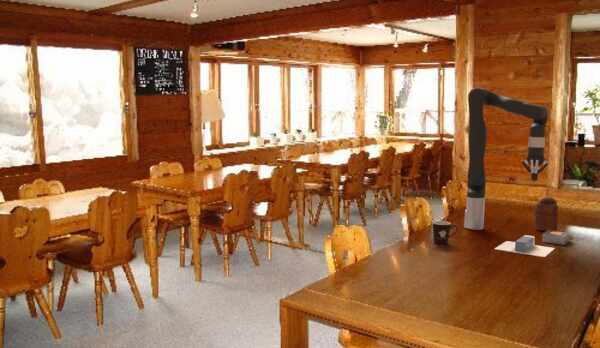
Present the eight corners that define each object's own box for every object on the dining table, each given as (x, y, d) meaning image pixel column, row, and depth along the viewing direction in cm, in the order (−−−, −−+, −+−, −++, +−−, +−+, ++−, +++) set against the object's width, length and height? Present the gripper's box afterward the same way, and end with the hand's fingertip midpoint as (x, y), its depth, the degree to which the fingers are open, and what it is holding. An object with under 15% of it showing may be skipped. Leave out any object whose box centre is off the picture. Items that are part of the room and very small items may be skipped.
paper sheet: (494, 249, 254) (494, 248, 254) (506, 241, 268) (506, 240, 268) (544, 257, 241) (544, 256, 241) (554, 248, 255) (554, 247, 255)
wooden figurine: (559, 230, 291) (561, 197, 288) (556, 233, 286) (558, 199, 283) (535, 227, 298) (537, 195, 295) (532, 229, 293) (534, 196, 290)
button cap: (549, 239, 268) (549, 233, 267) (551, 237, 272) (552, 231, 271) (560, 241, 265) (560, 234, 264) (562, 239, 269) (562, 233, 268)
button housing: (542, 241, 267) (542, 233, 267) (547, 237, 275) (547, 230, 275) (564, 245, 261) (564, 236, 261) (569, 240, 269) (569, 232, 269)
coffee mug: (429, 244, 264) (430, 223, 262) (434, 240, 271) (434, 220, 270) (454, 246, 258) (454, 226, 257) (458, 242, 266) (458, 222, 265)
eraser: (514, 250, 250) (515, 241, 249) (524, 244, 262) (525, 234, 261) (525, 252, 247) (525, 242, 246) (534, 245, 259) (534, 236, 258)
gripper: (552, 146, 270) (550, 181, 272) (524, 145, 278) (522, 178, 280) (548, 147, 264) (546, 182, 266) (520, 145, 272) (518, 180, 274)
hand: (534, 180), depth 273 cm, fingers closed
